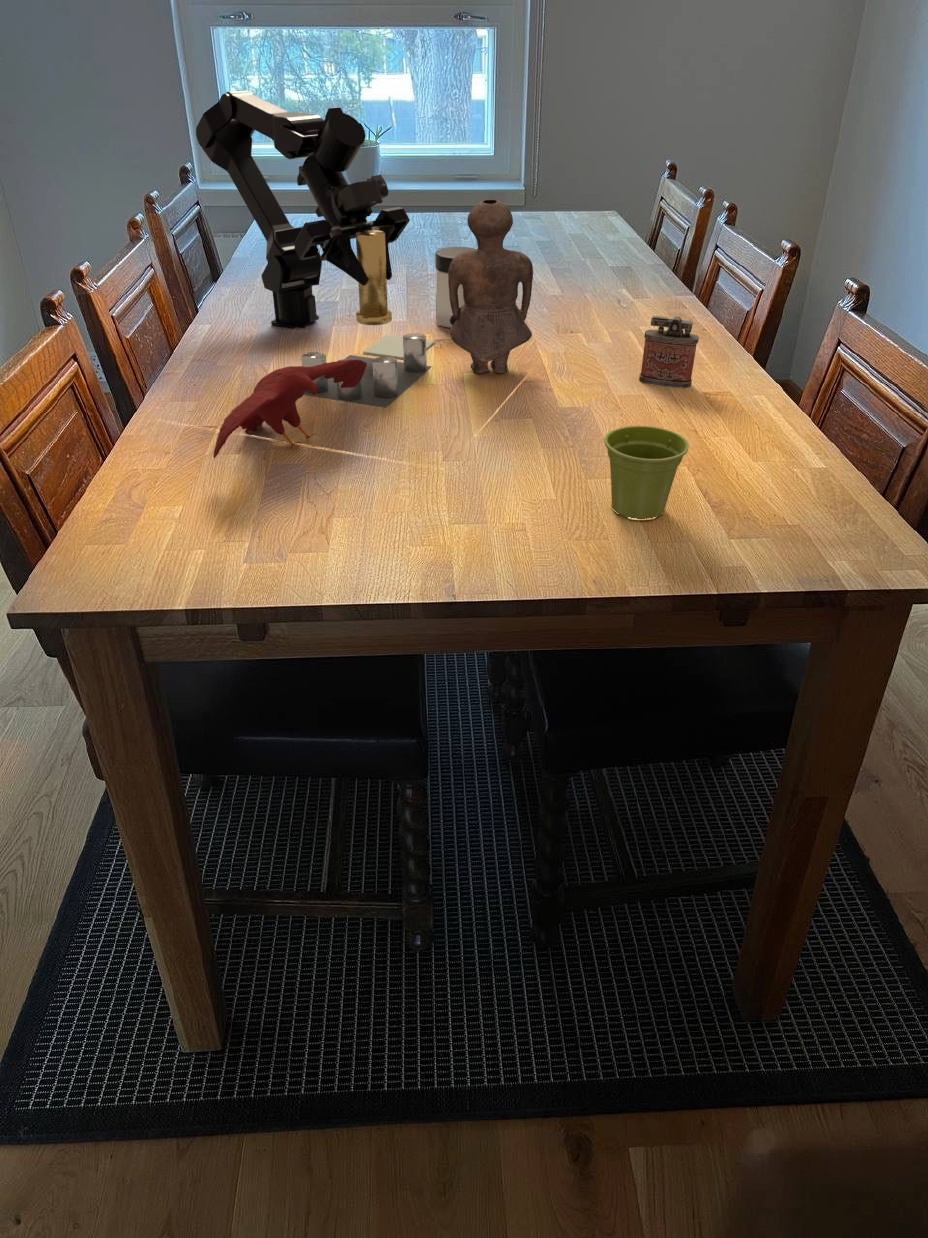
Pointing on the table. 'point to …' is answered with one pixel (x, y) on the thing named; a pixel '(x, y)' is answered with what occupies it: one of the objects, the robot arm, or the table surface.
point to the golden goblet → (372, 278)
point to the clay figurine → (490, 291)
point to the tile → (390, 347)
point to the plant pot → (643, 468)
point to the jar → (446, 284)
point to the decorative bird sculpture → (285, 397)
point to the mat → (368, 386)
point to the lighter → (669, 353)
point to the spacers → (377, 369)
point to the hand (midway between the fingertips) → (377, 281)
